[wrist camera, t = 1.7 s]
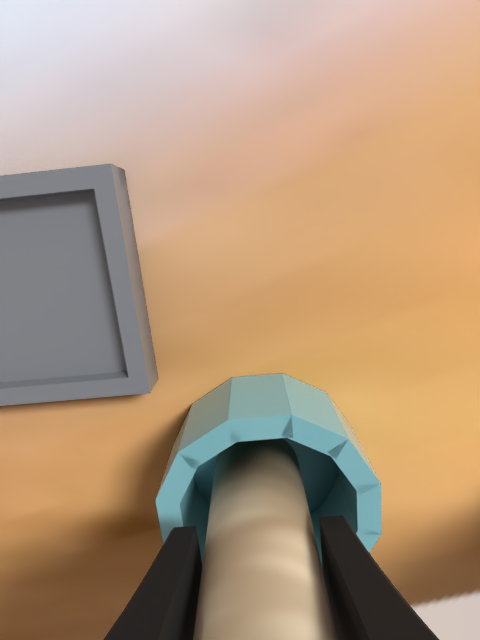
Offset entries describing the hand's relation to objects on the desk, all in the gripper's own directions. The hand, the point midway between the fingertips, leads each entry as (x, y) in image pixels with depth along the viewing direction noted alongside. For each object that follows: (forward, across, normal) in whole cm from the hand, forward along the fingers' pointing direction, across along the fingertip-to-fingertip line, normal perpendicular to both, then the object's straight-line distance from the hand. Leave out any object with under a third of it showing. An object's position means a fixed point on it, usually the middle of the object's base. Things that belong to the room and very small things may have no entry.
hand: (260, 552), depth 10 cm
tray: (+4, +8, -7) cm, 11 cm away
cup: (+4, 0, 0) cm, 4 cm away
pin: (+4, 0, 0) cm, 4 cm away
